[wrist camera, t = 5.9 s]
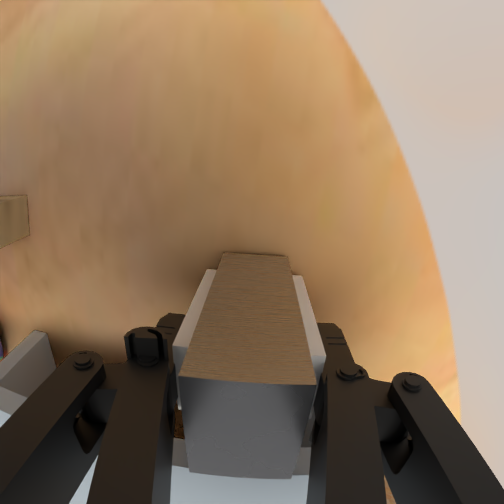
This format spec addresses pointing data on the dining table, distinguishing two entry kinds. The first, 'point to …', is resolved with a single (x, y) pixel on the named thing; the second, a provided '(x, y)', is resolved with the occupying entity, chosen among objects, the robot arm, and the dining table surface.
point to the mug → (1, 351)
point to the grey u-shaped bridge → (182, 481)
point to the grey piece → (247, 373)
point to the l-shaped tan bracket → (13, 219)
